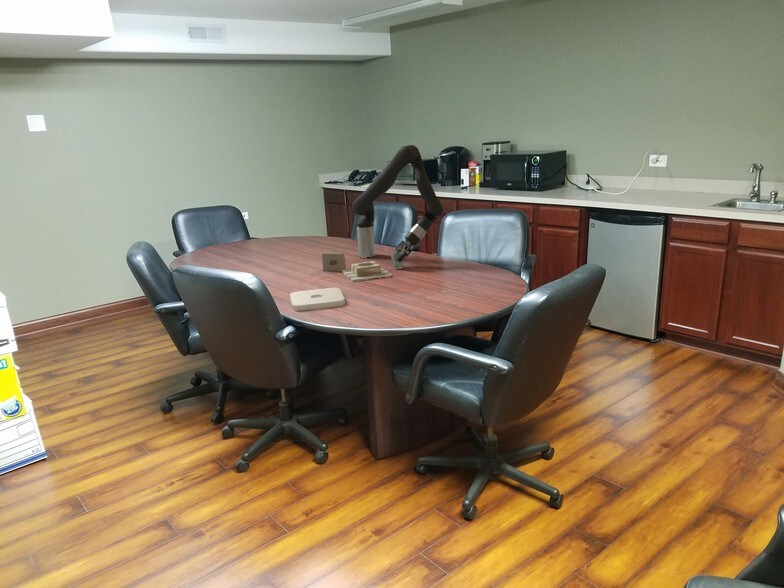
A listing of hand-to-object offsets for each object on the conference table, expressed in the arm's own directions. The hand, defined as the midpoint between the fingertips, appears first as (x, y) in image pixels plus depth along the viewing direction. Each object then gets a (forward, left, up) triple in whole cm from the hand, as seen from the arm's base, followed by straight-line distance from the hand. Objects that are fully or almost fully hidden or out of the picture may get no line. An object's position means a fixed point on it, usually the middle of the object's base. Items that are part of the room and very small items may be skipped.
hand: (395, 259), depth 297 cm
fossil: (-13, -30, -5) cm, 33 cm away
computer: (+38, -49, -5) cm, 62 cm away
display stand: (+4, -17, -5) cm, 18 cm away
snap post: (0, +1, -5) cm, 5 cm away
